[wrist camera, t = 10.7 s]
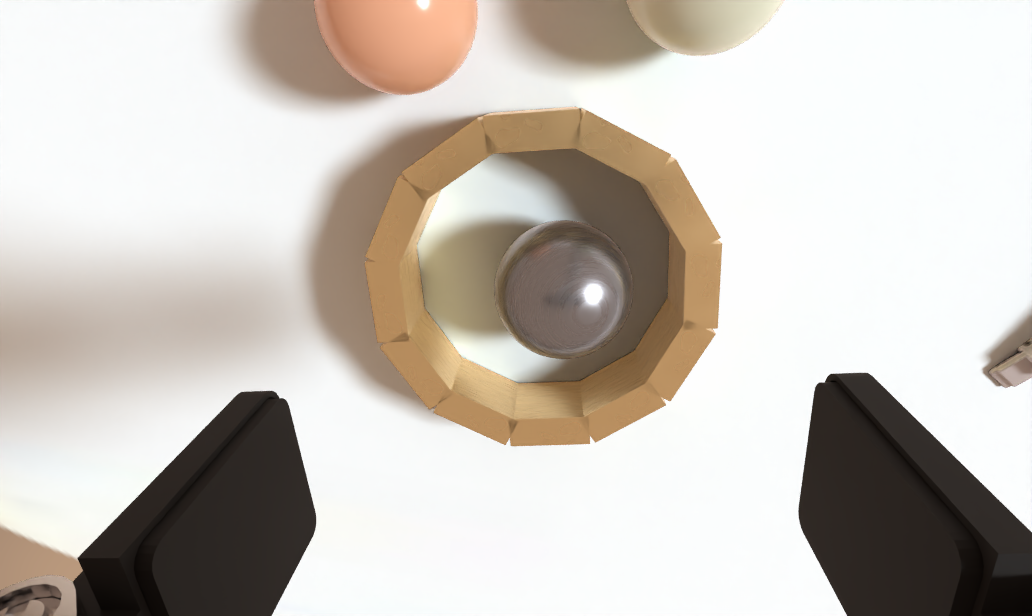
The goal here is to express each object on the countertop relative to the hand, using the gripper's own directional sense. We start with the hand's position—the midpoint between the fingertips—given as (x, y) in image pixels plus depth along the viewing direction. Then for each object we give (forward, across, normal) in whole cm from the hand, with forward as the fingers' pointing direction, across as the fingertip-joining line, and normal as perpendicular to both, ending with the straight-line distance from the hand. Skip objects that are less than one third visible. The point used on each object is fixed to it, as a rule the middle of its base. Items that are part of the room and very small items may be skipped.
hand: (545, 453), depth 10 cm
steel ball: (+11, 0, +1) cm, 11 cm away
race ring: (+14, 0, +1) cm, 14 cm away
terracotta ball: (+12, +4, -8) cm, 15 cm away
